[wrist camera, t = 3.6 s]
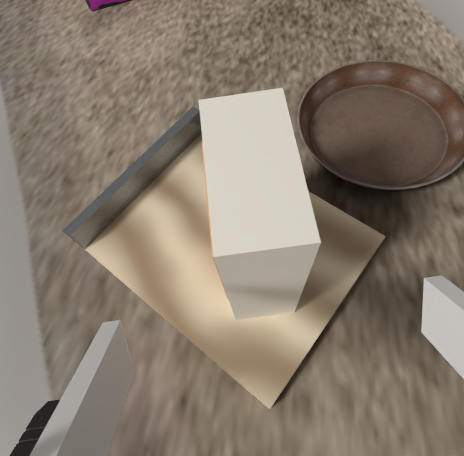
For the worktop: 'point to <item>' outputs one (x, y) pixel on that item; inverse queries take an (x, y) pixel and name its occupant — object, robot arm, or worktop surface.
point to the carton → (257, 202)
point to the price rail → (134, 180)
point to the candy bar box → (102, 3)
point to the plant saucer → (383, 125)
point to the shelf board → (209, 284)
